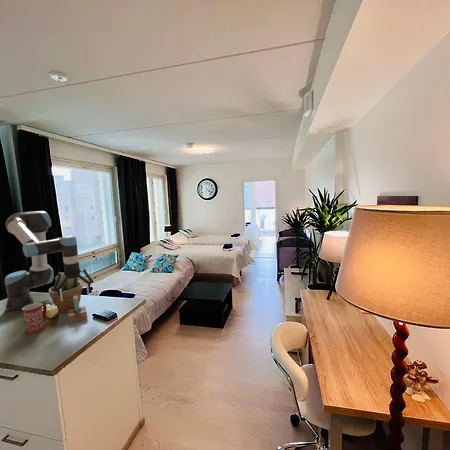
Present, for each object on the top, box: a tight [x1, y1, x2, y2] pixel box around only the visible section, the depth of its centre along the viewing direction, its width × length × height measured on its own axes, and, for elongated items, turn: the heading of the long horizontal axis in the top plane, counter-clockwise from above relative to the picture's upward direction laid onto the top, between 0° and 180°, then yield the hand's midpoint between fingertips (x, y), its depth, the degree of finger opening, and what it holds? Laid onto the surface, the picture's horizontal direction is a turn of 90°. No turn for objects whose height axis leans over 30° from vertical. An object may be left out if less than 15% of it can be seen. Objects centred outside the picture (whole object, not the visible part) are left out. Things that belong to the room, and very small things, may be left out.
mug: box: [21, 302, 47, 333], centre depth 144 cm, size 13×9×14 cm
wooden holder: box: [68, 305, 88, 325], centre depth 153 cm, size 9×9×5 cm
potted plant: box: [48, 275, 83, 314], centre depth 165 cm, size 18×19×25 cm
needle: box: [73, 296, 80, 313], centre depth 152 cm, size 2×2×14 cm
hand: (75, 297), depth 151 cm, fingers open, 13 cm apart
